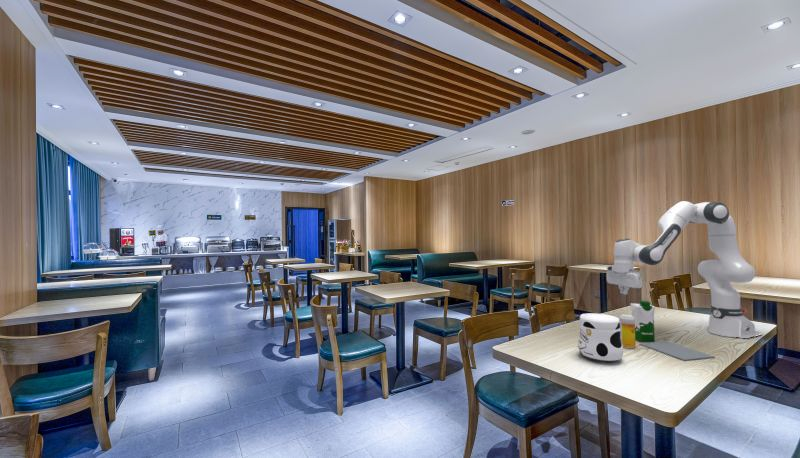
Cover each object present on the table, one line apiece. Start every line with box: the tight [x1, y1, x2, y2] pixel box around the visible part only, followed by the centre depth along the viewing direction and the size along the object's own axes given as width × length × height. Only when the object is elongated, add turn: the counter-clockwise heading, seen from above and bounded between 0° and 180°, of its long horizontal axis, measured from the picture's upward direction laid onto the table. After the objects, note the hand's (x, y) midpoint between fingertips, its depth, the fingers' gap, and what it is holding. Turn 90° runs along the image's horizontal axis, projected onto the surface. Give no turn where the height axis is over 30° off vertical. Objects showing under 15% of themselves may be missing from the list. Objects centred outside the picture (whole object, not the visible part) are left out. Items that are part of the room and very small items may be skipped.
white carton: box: [630, 300, 656, 343], centre depth 174 cm, size 9×9×20 cm
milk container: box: [577, 312, 624, 363], centre depth 151 cm, size 17×17×18 cm
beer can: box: [619, 314, 636, 350], centre depth 164 cm, size 6×6×15 cm
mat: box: [638, 340, 716, 362], centre depth 158 cm, size 16×22×1 cm
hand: (623, 294), depth 185 cm, fingers closed
